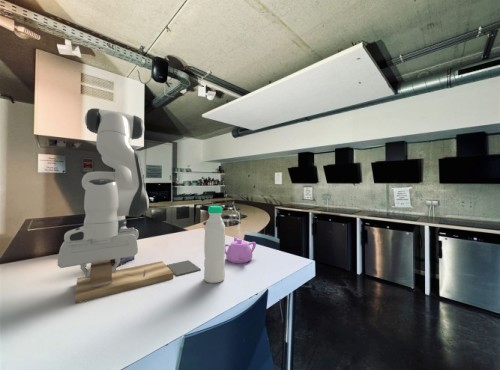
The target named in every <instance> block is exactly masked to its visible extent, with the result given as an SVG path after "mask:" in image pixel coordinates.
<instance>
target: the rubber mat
mask: <svg viewBox="0 0 500 370" xmlns="http://www.w3.org/2000/svg"><path fill="white" fill-rule="evenodd" d="M166 266H167V267H168V268H169V269H170V270H171V271H172V272H173V273H174V276H176V277H179V276H185V275H187V274H191V273H196V272H200V271H201V270H202V269H201V268H200V267H199V266H197V265H196V264H195V263H193V262H192V261H190V260H183V261H179V262H173V263H169V264H166Z"/></svg>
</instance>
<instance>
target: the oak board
mask: <svg viewBox="0 0 500 370" xmlns="http://www.w3.org/2000/svg"><path fill="white" fill-rule="evenodd" d="M174 276H175V274H174V273H173V272H172V271H171V270H170V269H169V268H168V267H167V264H166V263H164V262H163V260H161V261H157V262H152V263H146V264H141V265H136V266H131V267H126V268H120V269H116V273H112V283H111V284H107V285H102V286H98V287H94V288H91V278H86V279H85V276H81V277H77V279H76V286H75V287H76V288H75V303H74V304H78V303H83V302H86V301H90V300H95V299H98V298H103V297H105V296H110V295H113V294H118V293H122V292H126V291H130V290H134V289H138V288H141V287H146V286H149V285H153V284H157V283H160V282H161V283H162V282H165V281H169V280H173V279H174Z"/></svg>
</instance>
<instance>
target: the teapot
mask: <svg viewBox="0 0 500 370" xmlns="http://www.w3.org/2000/svg"><path fill="white" fill-rule="evenodd" d="M233 238H234V239H233V241H232V242H231V243H230V244H229V243H228V244H227V243H225V258H226V259H227V260H228V262H229V263H232V264H246V263H249V262H250V261H251V260H252V259H253V252H254V251H255V249H256V246H257V243H256V242H255V241H252V242H247V241H245V240H243V239H241V238H238V237H237V235H234V236H233ZM250 245H252V247H250ZM226 247H228V248H227V250H226ZM248 261H249V262H248Z"/></svg>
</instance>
